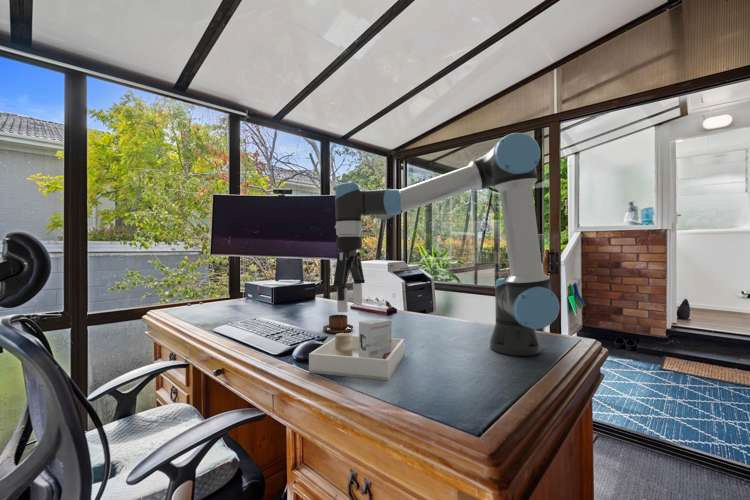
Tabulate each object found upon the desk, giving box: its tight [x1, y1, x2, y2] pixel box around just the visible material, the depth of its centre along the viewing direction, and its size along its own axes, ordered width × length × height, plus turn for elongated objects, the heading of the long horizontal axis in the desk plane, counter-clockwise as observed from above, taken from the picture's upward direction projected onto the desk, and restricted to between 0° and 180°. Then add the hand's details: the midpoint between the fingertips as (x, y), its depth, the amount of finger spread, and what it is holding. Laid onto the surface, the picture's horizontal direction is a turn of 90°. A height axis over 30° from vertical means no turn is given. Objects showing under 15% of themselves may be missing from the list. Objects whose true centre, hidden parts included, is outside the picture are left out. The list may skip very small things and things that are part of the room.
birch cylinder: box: [334, 332, 353, 356], centre depth 103 cm, size 5×5×7 cm
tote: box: [308, 335, 406, 382], centre depth 101 cm, size 22×22×5 cm
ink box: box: [358, 317, 393, 359], centre depth 100 cm, size 9×5×12 cm, turn 129°
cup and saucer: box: [322, 314, 354, 334], centre depth 141 cm, size 12×12×6 cm
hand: (350, 308), depth 105 cm, fingers open, 13 cm apart
